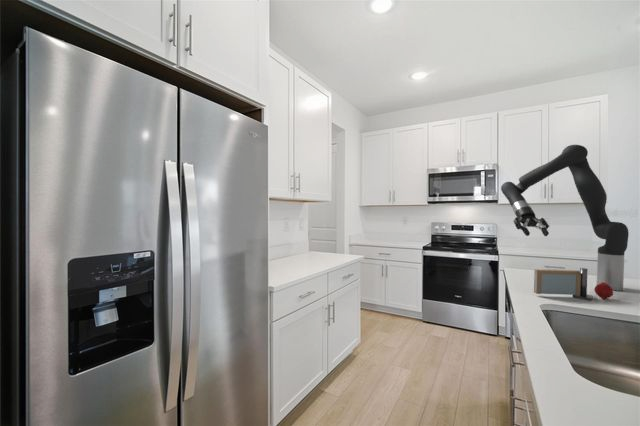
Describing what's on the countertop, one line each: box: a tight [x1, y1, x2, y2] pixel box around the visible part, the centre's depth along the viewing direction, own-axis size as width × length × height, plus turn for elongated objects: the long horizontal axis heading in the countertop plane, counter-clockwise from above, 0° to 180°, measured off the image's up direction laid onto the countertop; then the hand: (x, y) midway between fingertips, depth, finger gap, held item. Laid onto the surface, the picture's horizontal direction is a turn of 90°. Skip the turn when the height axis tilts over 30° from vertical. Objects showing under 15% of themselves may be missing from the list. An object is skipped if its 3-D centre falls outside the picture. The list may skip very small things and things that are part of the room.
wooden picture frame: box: [533, 268, 581, 296], centre depth 126 cm, size 18×2×11 cm, turn 85°
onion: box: [593, 281, 614, 300], centre depth 123 cm, size 6×6×8 cm
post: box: [572, 267, 594, 302], centre depth 125 cm, size 6×6×13 cm
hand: (537, 235), depth 136 cm, fingers open, 8 cm apart
